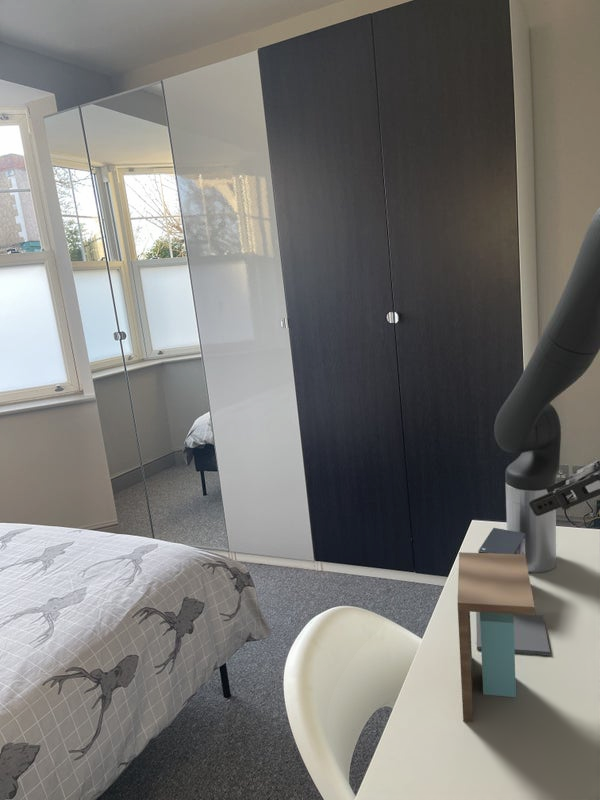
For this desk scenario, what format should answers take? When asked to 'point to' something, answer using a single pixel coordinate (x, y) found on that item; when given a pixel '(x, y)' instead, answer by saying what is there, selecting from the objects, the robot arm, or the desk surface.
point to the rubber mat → (525, 634)
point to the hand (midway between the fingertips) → (541, 501)
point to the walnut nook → (488, 601)
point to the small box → (504, 542)
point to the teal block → (498, 654)
